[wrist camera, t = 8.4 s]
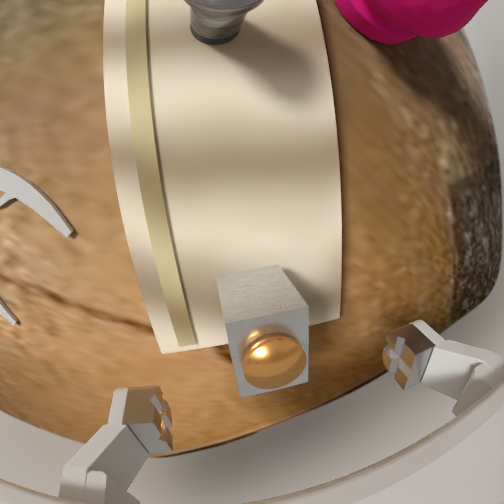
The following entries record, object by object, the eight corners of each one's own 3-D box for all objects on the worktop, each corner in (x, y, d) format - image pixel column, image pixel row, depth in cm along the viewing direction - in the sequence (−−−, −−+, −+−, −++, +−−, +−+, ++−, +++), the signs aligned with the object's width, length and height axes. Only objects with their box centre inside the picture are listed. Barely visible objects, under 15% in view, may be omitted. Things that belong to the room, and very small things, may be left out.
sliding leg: (214, 269, 14) (227, 333, 9) (273, 258, 14) (314, 314, 9) (226, 334, 15) (242, 407, 10) (278, 323, 16) (312, 390, 11)
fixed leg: (180, 4, 9) (177, -50, 5) (244, 0, 10) (267, -53, 5) (183, 55, 10) (179, 10, 6) (252, 50, 11) (280, 6, 6)
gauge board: (112, 1, 9) (105, -12, 8) (300, -14, 11) (310, -27, 9) (163, 339, 17) (161, 356, 15) (329, 306, 18) (340, 319, 17)
